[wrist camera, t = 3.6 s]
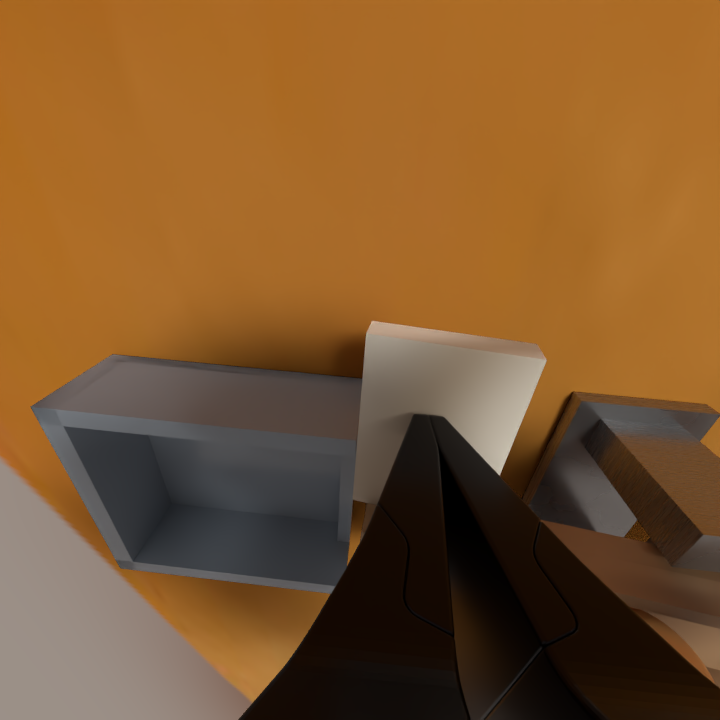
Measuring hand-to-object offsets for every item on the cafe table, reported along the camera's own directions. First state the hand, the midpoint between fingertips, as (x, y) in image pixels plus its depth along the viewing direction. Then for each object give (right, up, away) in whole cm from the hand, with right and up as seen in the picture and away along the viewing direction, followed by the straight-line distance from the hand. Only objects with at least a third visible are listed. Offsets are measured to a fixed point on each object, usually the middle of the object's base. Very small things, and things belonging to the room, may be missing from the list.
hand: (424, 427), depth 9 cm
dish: (-7, -3, +7) cm, 10 cm away
